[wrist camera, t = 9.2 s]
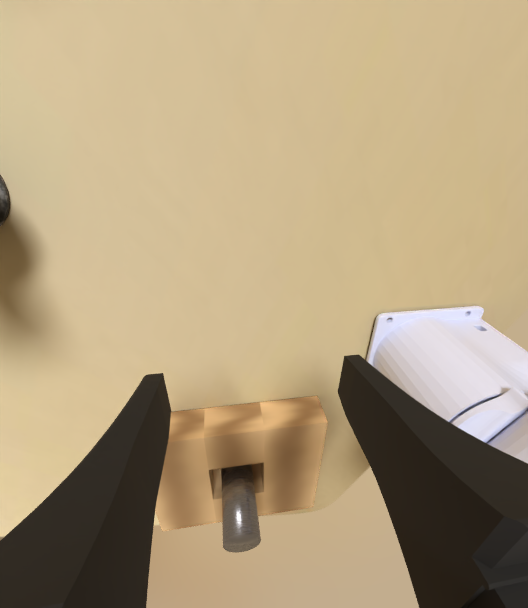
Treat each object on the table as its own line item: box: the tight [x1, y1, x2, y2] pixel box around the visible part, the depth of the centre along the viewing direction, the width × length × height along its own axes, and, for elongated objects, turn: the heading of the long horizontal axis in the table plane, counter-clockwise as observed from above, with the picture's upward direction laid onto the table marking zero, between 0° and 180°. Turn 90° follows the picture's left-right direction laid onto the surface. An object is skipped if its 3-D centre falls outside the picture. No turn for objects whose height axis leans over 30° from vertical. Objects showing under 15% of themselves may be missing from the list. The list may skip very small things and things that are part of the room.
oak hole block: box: [155, 396, 328, 531], centre depth 30 cm, size 16×14×3 cm
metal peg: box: [221, 464, 261, 552], centre depth 27 cm, size 3×3×8 cm
